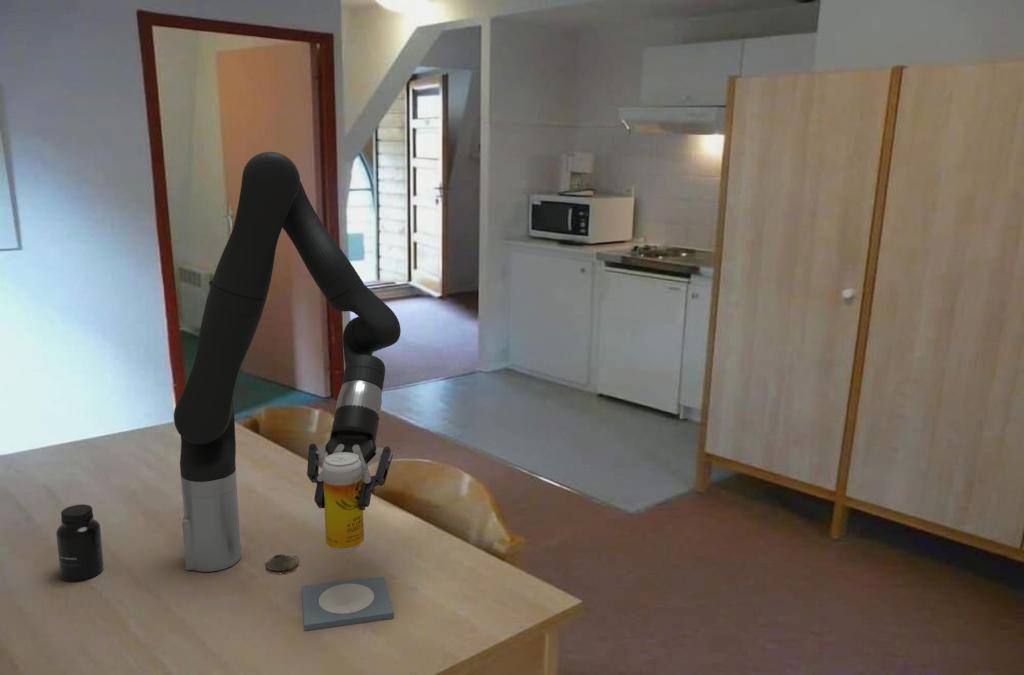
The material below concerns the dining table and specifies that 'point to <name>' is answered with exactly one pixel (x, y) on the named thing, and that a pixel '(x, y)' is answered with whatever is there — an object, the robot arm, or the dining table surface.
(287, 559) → the decorative disc
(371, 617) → the board
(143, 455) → the dining table surface
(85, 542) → the supplement bottle
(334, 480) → the beer can
